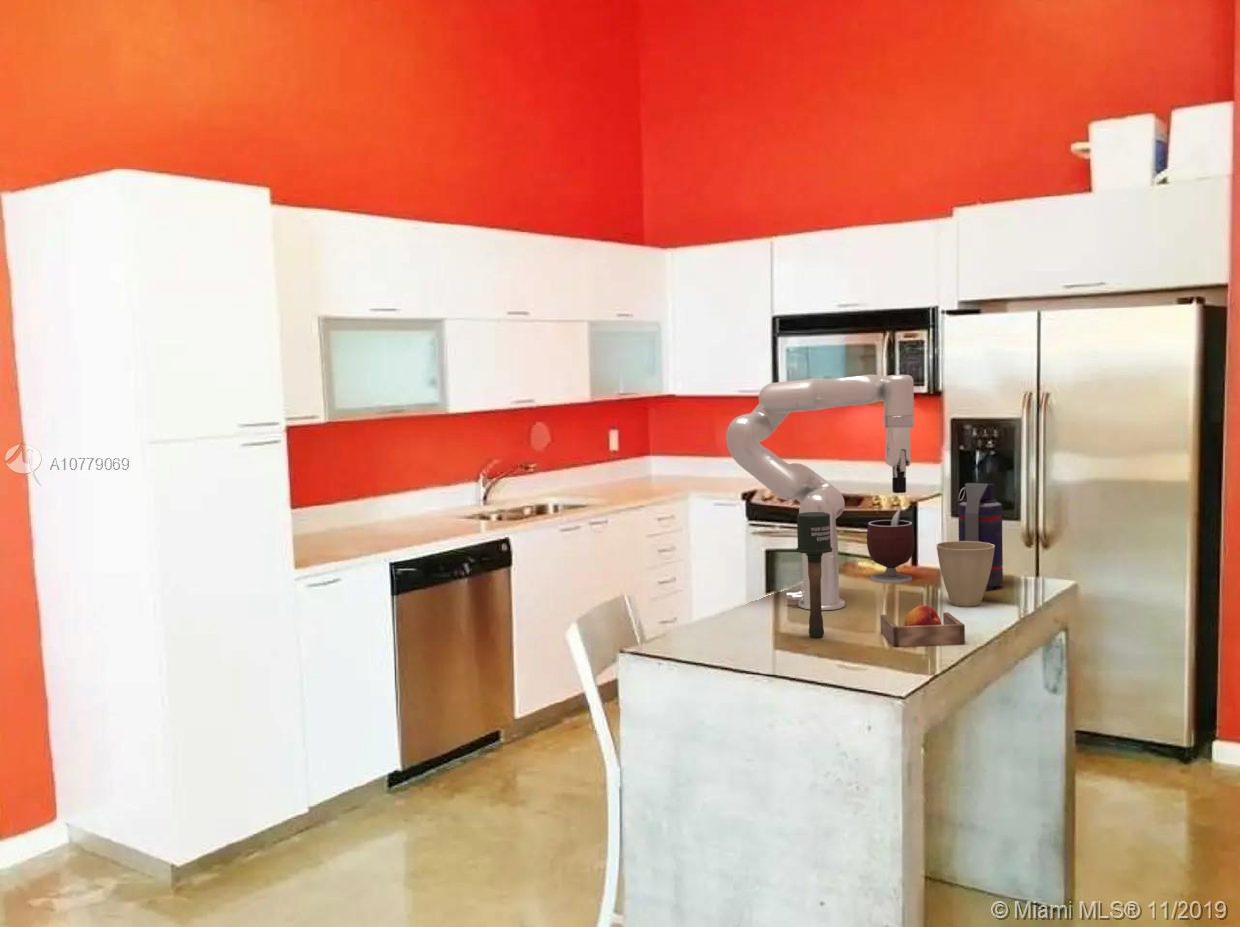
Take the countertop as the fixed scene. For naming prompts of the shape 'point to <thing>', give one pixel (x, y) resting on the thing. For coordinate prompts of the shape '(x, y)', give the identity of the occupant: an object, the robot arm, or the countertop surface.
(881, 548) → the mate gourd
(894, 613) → the countertop surface
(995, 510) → the smoke canister
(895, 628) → the box
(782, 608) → the countertop surface
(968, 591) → the plant pot
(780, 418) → the robot arm
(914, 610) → the fruit
